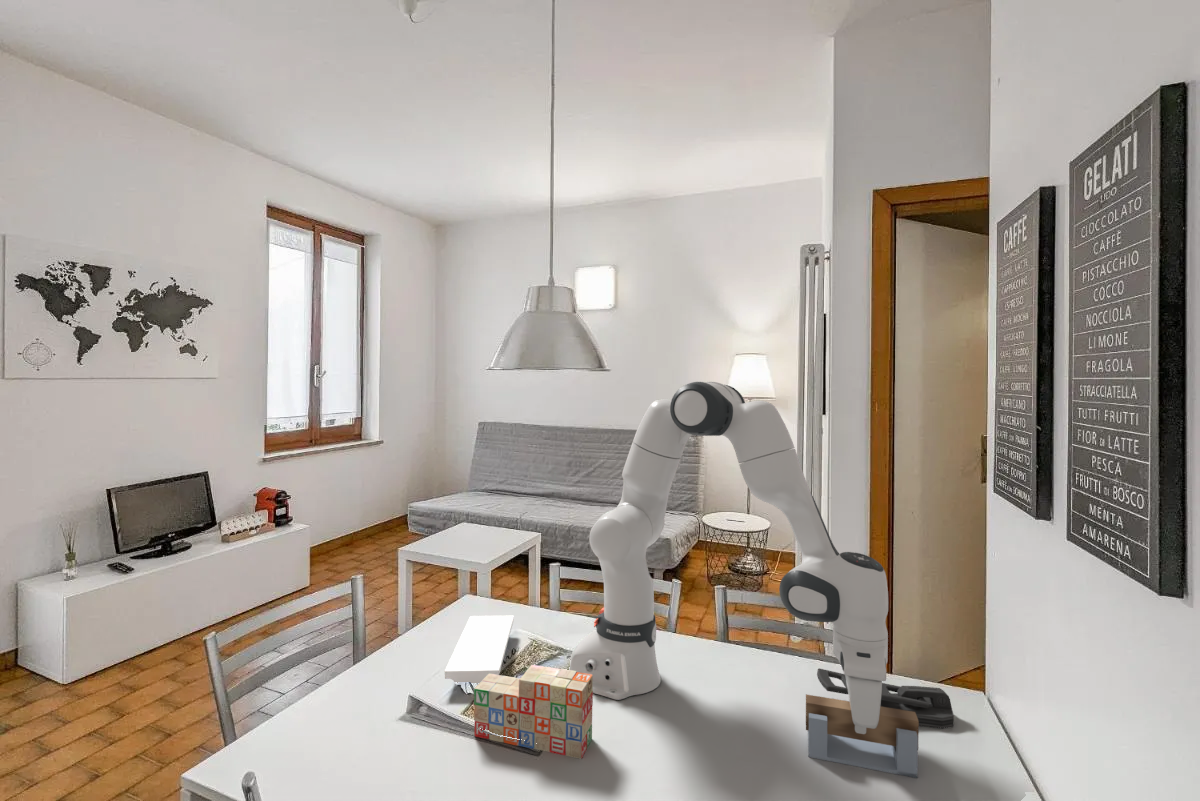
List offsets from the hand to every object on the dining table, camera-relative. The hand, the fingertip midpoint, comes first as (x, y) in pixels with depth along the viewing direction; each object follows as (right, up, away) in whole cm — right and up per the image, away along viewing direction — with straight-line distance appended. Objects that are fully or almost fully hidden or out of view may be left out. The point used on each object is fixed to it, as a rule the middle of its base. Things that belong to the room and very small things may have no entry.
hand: (858, 724), depth 102 cm
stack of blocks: (-58, -5, +4) cm, 59 cm away
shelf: (-74, -5, +35) cm, 82 cm away
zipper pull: (+11, -5, +13) cm, 18 cm away
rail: (0, -2, 0) cm, 2 cm away
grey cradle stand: (0, -5, 0) cm, 5 cm away
